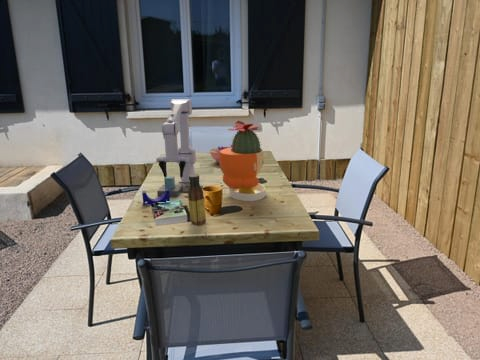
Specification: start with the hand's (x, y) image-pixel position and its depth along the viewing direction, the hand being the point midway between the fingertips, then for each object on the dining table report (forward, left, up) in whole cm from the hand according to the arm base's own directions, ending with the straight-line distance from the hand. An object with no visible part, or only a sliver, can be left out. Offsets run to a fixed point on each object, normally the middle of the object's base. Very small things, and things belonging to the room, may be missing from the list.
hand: (173, 176), depth 194 cm
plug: (-7, -4, -10) cm, 13 cm away
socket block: (-7, -4, -10) cm, 13 cm away
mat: (-12, +6, -10) cm, 17 cm away
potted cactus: (-5, +32, -10) cm, 34 cm away
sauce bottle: (+31, +17, -10) cm, 37 cm away
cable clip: (+7, -7, -10) cm, 14 cm away
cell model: (-68, +16, -10) cm, 71 cm away
